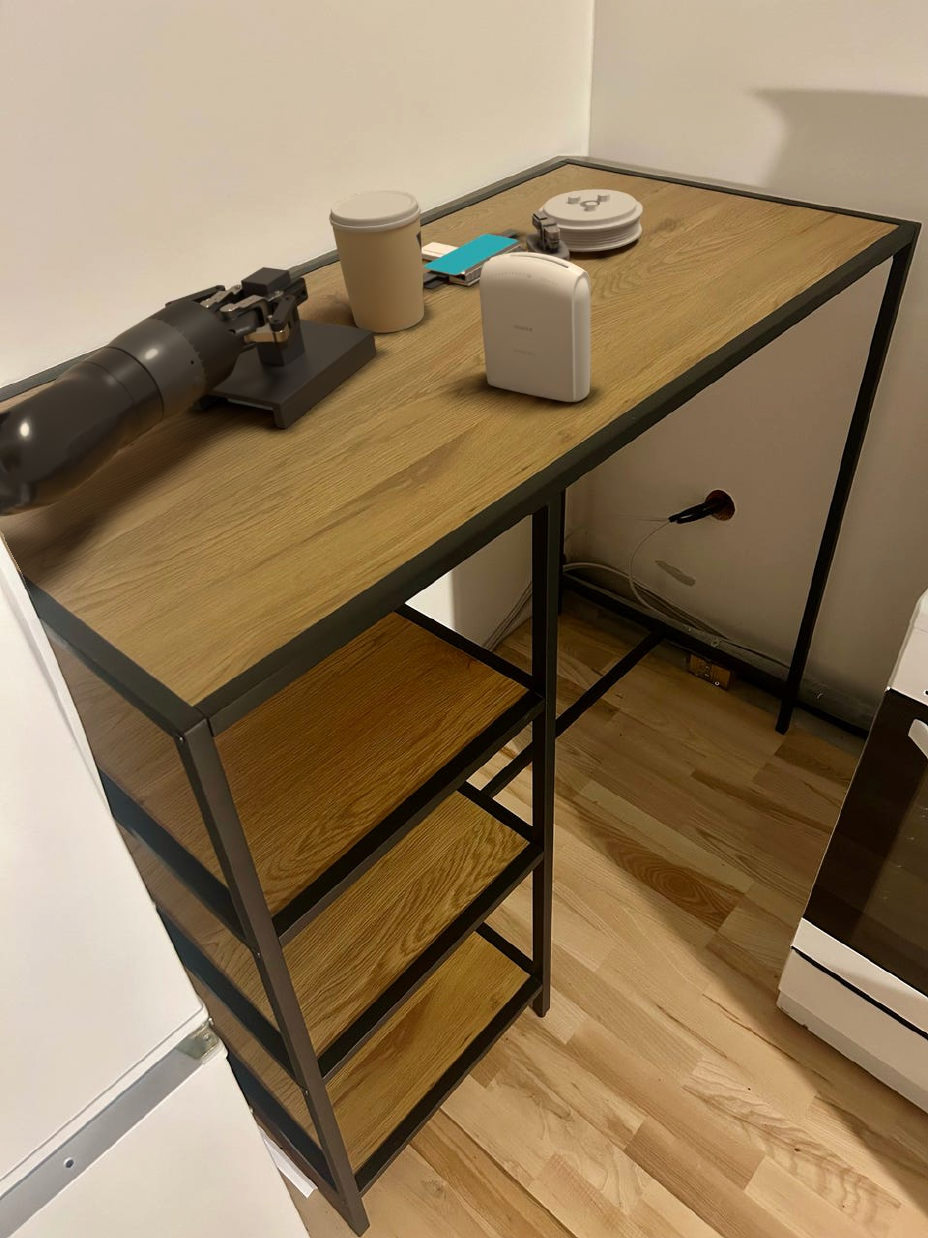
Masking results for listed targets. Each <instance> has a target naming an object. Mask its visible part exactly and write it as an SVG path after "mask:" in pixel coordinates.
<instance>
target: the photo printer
mask: <svg viewBox="0 0 928 1238" xmlns="http://www.w3.org/2000/svg"><path fill="white" fill-rule="evenodd" d="M478 283H479V284H478V290H479V301H480V314H481V326H482V327H481V328H482V338H483V351H484V362H485V363H484V364H485V375H486V381H487V383H488V384H489V385H490V386H492V387H494V388H499V389H504V390H507V391H511V392H516V393H520V394H526V395H531V396H535V397H540V398H544V399H550V400H555V401H562V402H567V403H572V402H573V403H577V402H580V401H583V400H584V399H585V398H587V397H588V396H589V394H590V391H591V383H592V289H591V288H592V286H591V284H592V283H591V278H590V276H589V273H588V272H587V271H586V270H585V269H583V268H582V267H580V266H578V265H576V264H574V263H573V262H570V261H569V262H568V261H565V260H563V259H560V258H557V257H553V256H549V255H545V254H539V253H530V252H515V253H507V254H502V255H498V256H495V257H492V258H491V259H490V260H489V261H487V262H485V263H484V265H483V268H482V271H481V275H480V281H479V282H478Z"/></svg>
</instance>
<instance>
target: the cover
mask: <svg viewBox="0 0 928 1238" xmlns="http://www.w3.org/2000/svg"><path fill="white" fill-rule="evenodd" d="M290 275H291V274H290V270H288V269H282V268H275V267H267V266H263V267H261V268H259V269H258V270H256V271H255V272H253V273H251V274H250V275H248V276H246V277H244V278H243V279H241V280H240V285H242V289H243V293H244V297H245V299H246V298H248V297H250V296H252V295H257V296H261V297H263V296H265V295H267V294H269V293H271V292H273V291H275V290H276V289H277V288H279V287H281V286H282V285H284V284H285V283H287V282H288V281H290V280H291V279H292V278H291V276H290ZM253 310H254V309H253ZM269 313H270V315H273V314H274V308H273V304H272V305H270V306H269ZM374 333H375V332H373V330H366V329H360V328H359V327H352V326H347V325H342V324H341V325H340V324H334V323H328V322H321V321H315V320H309V319H302V318H300V325H299V327H298V329H297V331H296V333H295V336H294V338H293V340H292V342H291V344H290V346H289V347H288V348H287V349H285V350H277V349H276V348H275V344H274V343H273V341H272V342H259V343H258V345H257V346H256V347H255V348H254V349H252V350H249V351H246V352H243V353H241V354H239V356H238V358H237V361H236V364H235V367H234V370H233V372H232V374H231V375H230V376H229V378H228V379H226V380H225V381H224V382H222V383H221V384H219V385H218V386H217V387H215V388H214V389H212V390H211V391H210V392H208V393H207V394H205V395H204V396H203V397H201V398H200V399H198V400H197V401H195V402H194V403H193V404H192V406H193V409H194V410H197V411H203V410H205V409H206V408H207V407H209V406H210V405H211V404H213V403H215V402H216V401H217V400H218V399H220V398H225V399H227V398H229V399H233V400H238V401H243V402H248V403H253V404H258V405H262V406H267V407H272V409H273V410H272V413H273V416H274V421H275V425H276V428H278V429H279V428H280V429H283V430H285V429H287V428H288V427H289V426H291V425H292V424H293V423H295V422H296V421H297V420H298V419H299V418H301V417H302V416H303V415H304V414H306V413H307V412H308V411H309V410H310V409H312V408H313V407H315V406H316V405H317V404H318V403H319V402H320V401H322V400H323V399H324V398H325V397H326V396H328V395H329V394H330V393H331V392H332V391H334V390H335V389H337V387H339V386H340V385H341V384H342V383H344V382H345V381H346V380H348V378H350V377H351V376H352V375H354V374H355V373H356V372H357V371H358V370H359V369H361V368H362V367H363V366H365V365H366V364H367V363H369V362H370V361H371V360H372V359H373V358H374V357H376V356H378V355H377V354H378V353H377V352H378V351H377V346H376V340H375V334H374Z"/></svg>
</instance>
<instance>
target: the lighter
mask: <svg viewBox="0 0 928 1238" xmlns="http://www.w3.org/2000/svg"><path fill="white" fill-rule="evenodd" d="M531 225H532V226H533V227H534V229H536V230H537V231H533V232H529V233H527V234H526V236H525V244H526V248H527V250H528V252H530V253H539V254H545V255H549V256H553V257H557V258H560V259H563V260H565V261H568V262H570V251H568V248H567V246H566V245H565V244H564V242H563V241H561V240H560V229H559V228H558V226H557V221H556V219H555V218H551V219H549V218H548V217H547V216H546V215H545V214H544V213H543V212H542V211H538V210H535V211H533V213H532V214H531Z"/></svg>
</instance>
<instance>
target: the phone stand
mask: <svg viewBox="0 0 928 1238" xmlns="http://www.w3.org/2000/svg"><path fill="white" fill-rule="evenodd" d="M518 232H519V230H518V229H513V228H508V229H507V230H505V231H503V232H501V233H499V234H497V235H494V234H490V233H485V234H482V235H480V236H478V237H476V238H474V239H473V240H470V241H468V242H466V243H465V244H463V245H461V246H459V247H458V246H454V245H449V244H444V243H439V242H435V241H431V242H430V243H428V244H426V245H424V246H421V248H422V260H427V261H430V262H428V263H426V264H425V265H423V269H425V270H427V272H426V273H423V289H424V288H426V289H430V290H433V289H435V288H437V287H439V286H440V285H443V284H444V283H446V282H447V283H452V284H457V285H460V286H464V287H472V286H473V285H475V284H477V283H479V282H480V275H481V271H482V268H483V265H484V263H485V262H487V261H489V260H490V259H491V258H492V257H495V256H498V255H502V254H507V253H515V252H528V249H523V248H522V246H523V243H522V240H521V239H519V240H518V239H516V238H517V237H520V235H519V234H516V233H518ZM428 270H429V271H428Z"/></svg>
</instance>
